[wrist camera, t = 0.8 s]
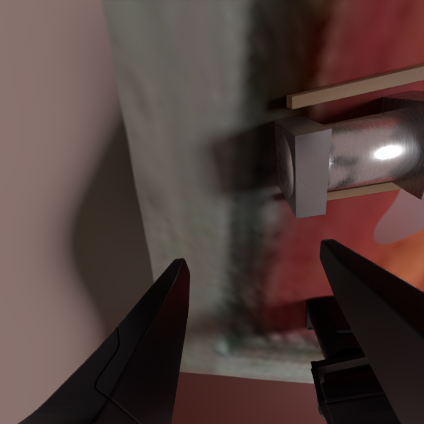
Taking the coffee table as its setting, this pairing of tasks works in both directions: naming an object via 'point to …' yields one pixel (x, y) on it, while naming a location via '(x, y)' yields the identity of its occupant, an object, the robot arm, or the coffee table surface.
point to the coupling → (351, 153)
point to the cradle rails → (353, 89)
